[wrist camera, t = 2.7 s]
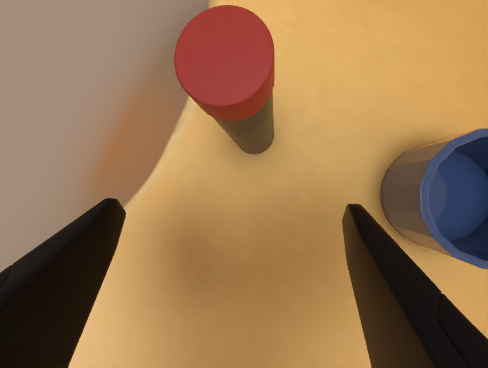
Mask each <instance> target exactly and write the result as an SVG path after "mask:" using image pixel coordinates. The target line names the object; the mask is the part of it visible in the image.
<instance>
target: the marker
mask: <svg viewBox="0 0 488 368" xmlns="http://www.w3.org/2000/svg"><path fill="white" fill-rule="evenodd" d="M174 63H175V70H176V74H177V77H178V80H179V82H180V84H181V86H182V87H183V89H184V90H185V91H186V92H187V93H188V94H189V96H190V97H191V98H192V99H193V100H194V101H195V102H196V103H197V104H198V105H199V106H200V107H201V108H202V109H203V110H204V111H205V112H206V113H207V114H208V115H210V116H212V117H213V118H214V119H215V120H216V121H217V122H218V124H219V125H220V126H221V127H222V128H223V129H224V130H225V131H226V132H227V134H228V135H229V136H230V137H231V138H232V139H233V140H234V141H235V142H236V143H237V145H238V146H239V147H240V148H241V149H242V150H243V151H245V152H247V153H250V154H258V153H261V152H263V151H265V150H267V149H268V148H269V146H270V145H271V143H272V141H273V138H274V123H273V86H274V77H275V76H274V44H273V40H272V37H271V34H270V32H269V30H268V28H267V26H266V25H265V24H264V22H263V21H262V20H261V19H260V18H259V17H258V16H257V15H255V14H254V13H253V12H251V11H249V10H247V9H245V8H242V7H238V6H231V5H223V6H217V7H213V8H210V9H208V10H205V11H204V12H202V13H200V14H198V15H197V16H196V17H195V18H193V19H192V20H191V21H190V22H189V23H188V24H187V26H186V27H185V28H184V30H183V31H182V33H181V35H180V37H179V39H178V42H177V45H176V49H175V57H174Z"/></svg>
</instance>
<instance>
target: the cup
mask: <svg viewBox="0 0 488 368" xmlns="http://www.w3.org/2000/svg"><path fill="white" fill-rule="evenodd" d="M381 202H382V207H383V210H384V213H385V215H386V217H387V219H388V221H389V222H390V223H391V225H392V226H393V227H394V228H395V229H396V230H397V231H398V232H399V233H400V234H402V235H403V236H405V237H406V238H408V239H409V240H411V241H414V242H416V243H419V244H421V245H424V246H426V247H429V248H431V249H434V250H436V251H439V252H441V253H444V254H446V255H449V256H451V257H454V258H456V259H459V260H461V261H464V262H466V263H469V264H472V265H474V266H477V267H479V268H483V269H488V129H477V130H474V131H470V132H467V133H463V134H460V135H456V136H453V137H449V138H445V139H442V140H438V141H435V142H431V143H428V144H425V145H423V146H420V147H417V148H414V149H412V150H410V151H408V152H406V153H404V154H403V155H401V156H400V157H399V158H398V159H397V160H395V162H394V163H393V164H392V165H391V166H390V168H389V169H388V171H387V173H386V175H385V177H384V179H383V182H382V187H381Z"/></svg>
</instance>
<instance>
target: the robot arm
mask: <svg viewBox="0 0 488 368" xmlns="http://www.w3.org/2000/svg"><path fill="white" fill-rule="evenodd" d="M125 217H126V212H125V210H124V208H123V207H122V206H121V204H120V203H119V201H118V200H117V199H111V198H107V199H104V200H103V201H101V202H100V203H99V204H97V205H96V206H94V207H93V208H91V209H90V210H89V211H87V212H86V213H84V214H83V215H81V216H80V217H79V218H77V219H76V220H74V221H73V222H72V223H70V224H69V225H67V226H66V227H64V228H63V229H62V230H60V231H59V232H57V233H56V234H54V235H53V236H52V237H50V238H49V239H47V240H46V241H45V242H43V243H42V244H40V245H39V246H38V247H36V248H35V249H33V250H32V251H30V252H29V253H27V254H26V255H25V256H23V257H22V258H20V259H19V260H18V261H16V262H15V263H14V264H13V265H11V266H9V267H8V268H6V269H5V270H3V271H2V272H1V273H0V368H68V366H69V363H70V361H71V359H72V356H73V354H74V351H75V349H76V346H77V344H78V342H79V339H80V337H81V334H82V332H83V329H84V327H85V324H86V322H87V319H88V317H89V315H90V312H91V310H92V307H93V305H94V302H95V300H96V297H97V295H98V293H99V290H100V288H101V285H102V283H103V280H104V278H105V275H106V273H107V270H108V268H109V266H110V263H111V261H112V258H113V256H114V253H115V251H116V248H117V244H118V241H119V238H120V234H121V231H122V227H123V224H124V220H125ZM342 225H343V233H344V242H345V251H346V259H347V265H348V270H349V274H350V278H351V282H352V287H353V291H354V295H355V299H356V303H357V307H358V312H359V316H360V320H361V324H362V328H363V333H364V337H365V341H366V345H367V349H368V354H369V358H370V362H371V366H372V368H488V339H487V338H486V337H485V336H484V335H483V334H482V333H481V332H480V331H479V330H478V329H477V328H476V327H475V326H474V325H473V324H472V323H471V322H470V321H469V320H468V319H467V318H466V317H465V316H464V315H463V314H462V313H461V312H460V311H459V310H458V309H457V308H456V307H455V306H454V305H453V303H452V302H451V301H450V300H449V299H448V298H447V297H446V296H445V295H444V294H441V291H440V290H439V289H438V287H437V286H436V285H435V284H434V283H433V282H432V281H431V280H430V279H429V278H428V277H427V276H426V275H425V273H424V272H423V271H422V270H421V269H420V268H419V267H418V266H417V265H416V264H415V263H414V262H413V261H412V259H411V258H410V257H409V256H408V255H407V254H406V253H405V252H404V251H403V250H402V249H401V248H400V247H399V245H398V244H397V243H396V242H395V241H394V240H393V239H392V238H391V237H390V236H389V235H388V234H387V233H386V231H385V230H384V229H383V228H382V227H381V226H380V225H379V224H378V223H377V222H376V221H375V220H374V219H373V217H372V216H371V215H370V214H369V213H368V212H367V211H366V210H365V209H364V208H363V207H362V206H361V205H360V204H348V205H347V206H346V209H345V212H344V215H343V219H342Z"/></svg>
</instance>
